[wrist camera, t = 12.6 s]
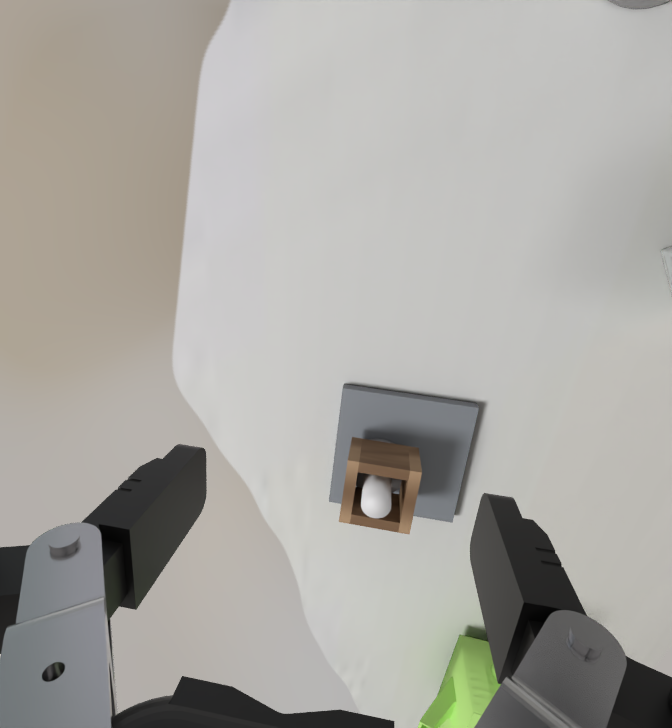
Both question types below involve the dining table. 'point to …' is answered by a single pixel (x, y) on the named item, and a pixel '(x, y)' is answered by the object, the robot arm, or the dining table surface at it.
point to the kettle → (464, 687)
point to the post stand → (410, 428)
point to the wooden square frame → (387, 464)
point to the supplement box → (668, 264)
